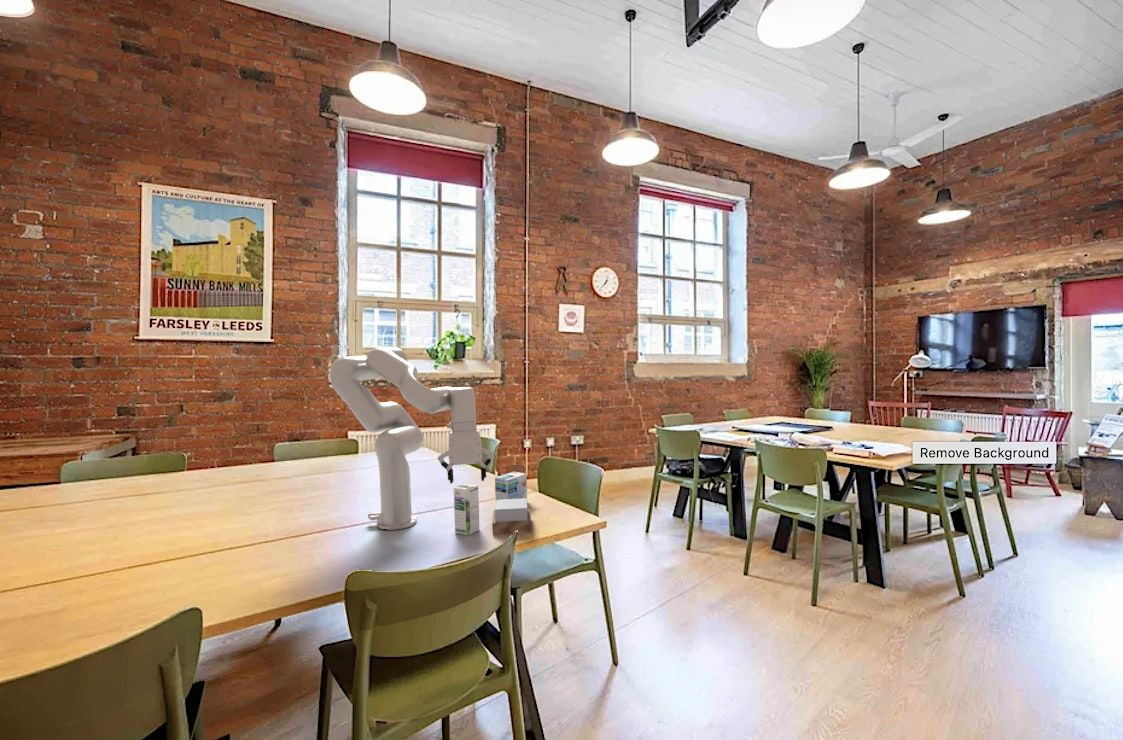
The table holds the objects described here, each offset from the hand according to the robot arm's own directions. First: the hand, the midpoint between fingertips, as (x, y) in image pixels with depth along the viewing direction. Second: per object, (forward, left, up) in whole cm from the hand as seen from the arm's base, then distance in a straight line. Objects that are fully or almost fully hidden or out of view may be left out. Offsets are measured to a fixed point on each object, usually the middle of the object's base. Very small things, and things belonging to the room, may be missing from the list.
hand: (467, 481), depth 155 cm
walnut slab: (+13, +2, -17) cm, 22 cm away
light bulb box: (+13, +25, -16) cm, 33 cm away
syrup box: (-1, 0, -16) cm, 16 cm away
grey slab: (+13, +2, -13) cm, 19 cm away
